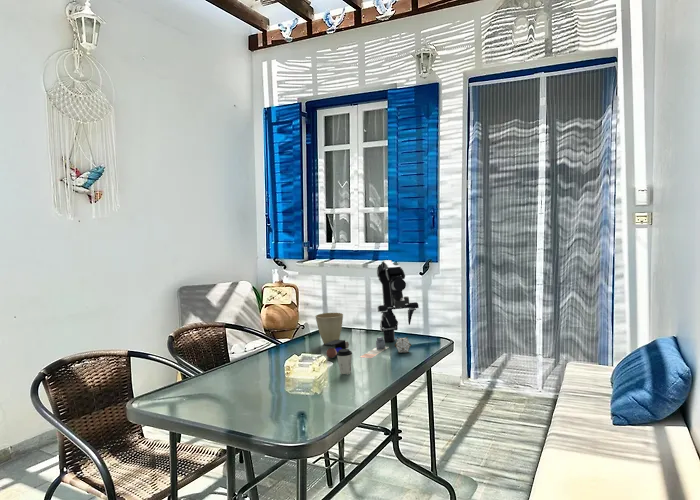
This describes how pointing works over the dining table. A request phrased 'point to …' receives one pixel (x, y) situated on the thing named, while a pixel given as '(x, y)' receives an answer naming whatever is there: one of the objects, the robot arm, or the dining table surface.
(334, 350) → the figurine character
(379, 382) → the dining table surface
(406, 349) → the game die
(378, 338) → the pawn
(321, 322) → the plant pot
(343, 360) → the coffee cup
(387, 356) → the dining table surface
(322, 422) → the dining table surface
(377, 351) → the board
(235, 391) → the dining table surface
